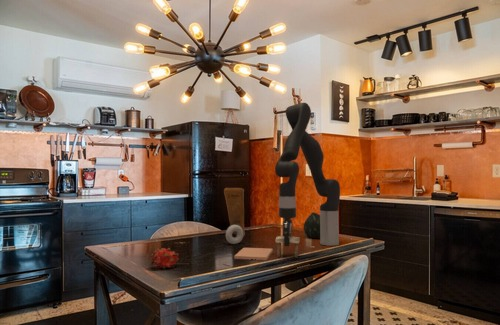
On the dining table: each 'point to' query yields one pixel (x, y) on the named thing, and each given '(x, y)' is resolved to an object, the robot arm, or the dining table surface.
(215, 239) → the dining table surface
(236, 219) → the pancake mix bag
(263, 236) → the dining table surface
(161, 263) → the dragon fruit
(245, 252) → the mat
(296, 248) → the stool
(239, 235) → the donut
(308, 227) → the squash
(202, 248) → the dining table surface
